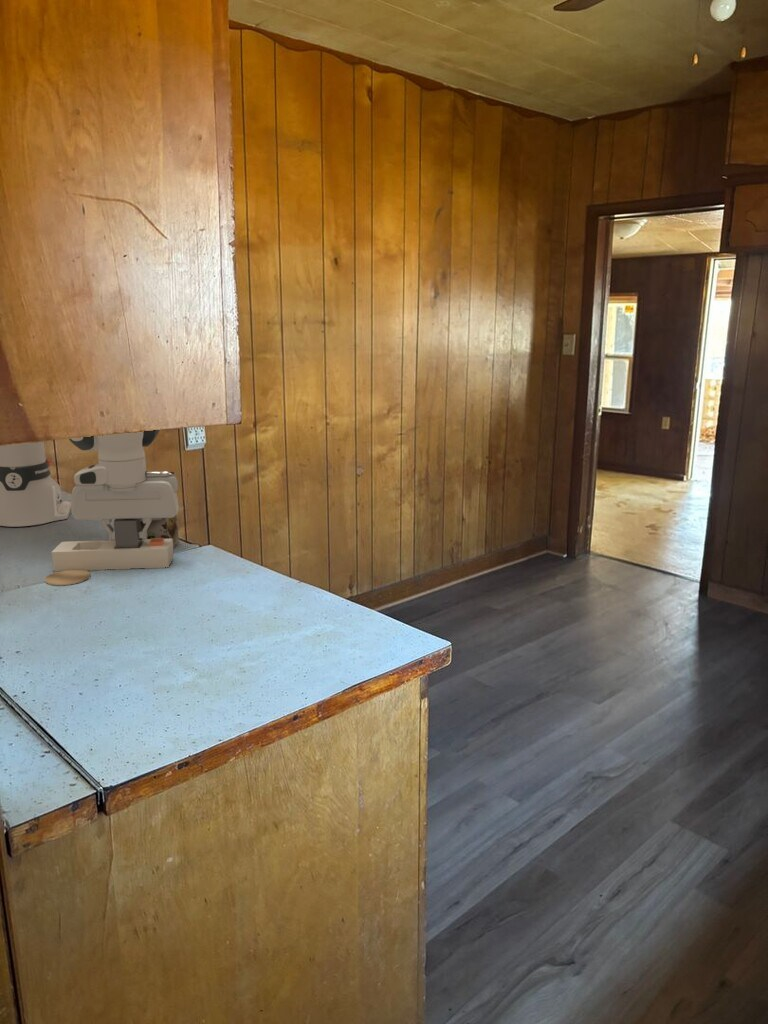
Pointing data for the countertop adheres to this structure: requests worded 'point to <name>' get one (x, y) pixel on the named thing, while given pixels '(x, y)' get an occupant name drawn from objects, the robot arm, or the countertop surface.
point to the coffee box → (163, 528)
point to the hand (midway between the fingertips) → (128, 539)
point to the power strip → (112, 555)
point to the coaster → (67, 577)
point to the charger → (127, 533)
